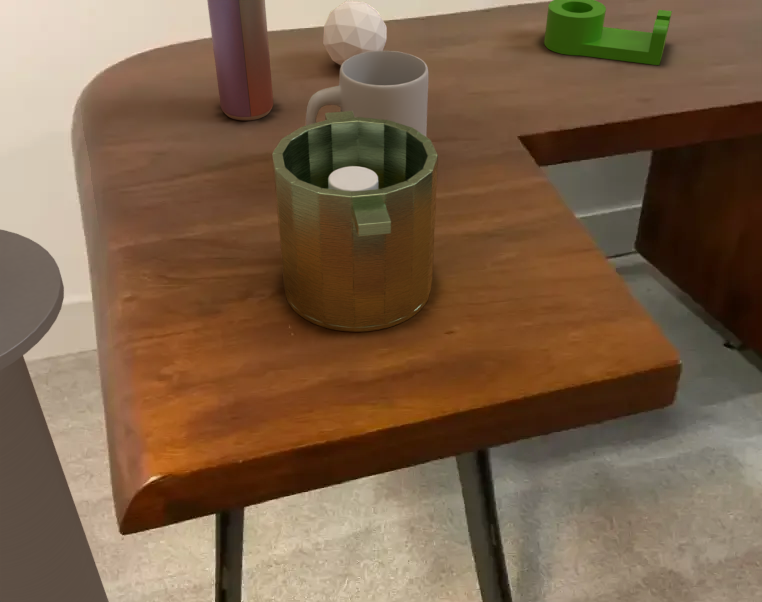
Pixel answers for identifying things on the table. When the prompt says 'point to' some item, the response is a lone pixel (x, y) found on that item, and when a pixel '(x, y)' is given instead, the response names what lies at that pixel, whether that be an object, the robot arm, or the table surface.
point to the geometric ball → (353, 31)
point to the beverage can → (241, 57)
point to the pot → (356, 222)
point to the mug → (379, 89)
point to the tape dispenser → (601, 33)
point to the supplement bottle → (353, 179)
